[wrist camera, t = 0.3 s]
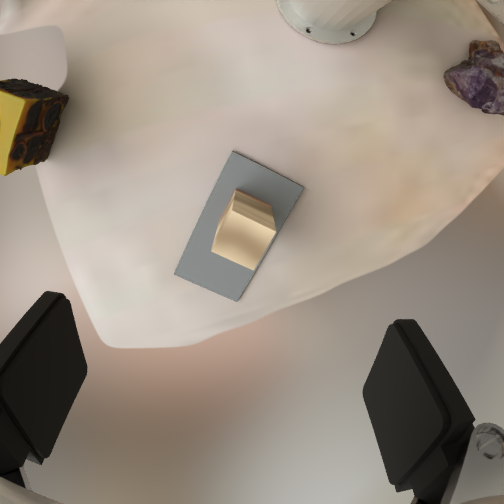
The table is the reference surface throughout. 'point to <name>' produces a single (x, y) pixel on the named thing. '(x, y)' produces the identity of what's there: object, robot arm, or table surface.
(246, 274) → the mat
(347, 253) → the table surface
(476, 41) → the rock
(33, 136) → the candle
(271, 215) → the maple block
